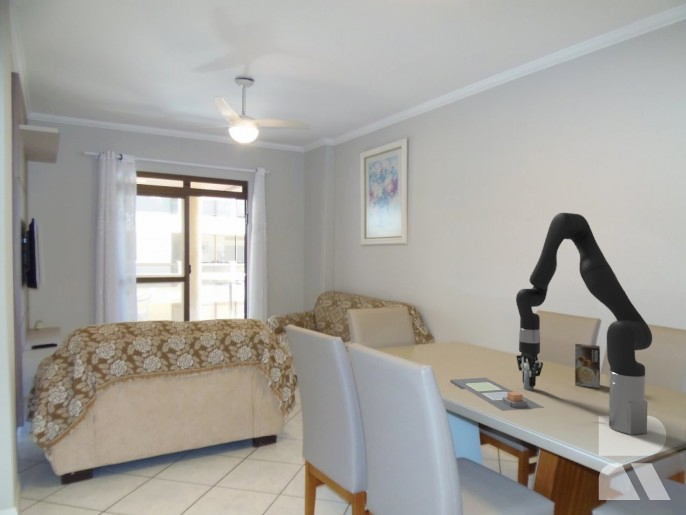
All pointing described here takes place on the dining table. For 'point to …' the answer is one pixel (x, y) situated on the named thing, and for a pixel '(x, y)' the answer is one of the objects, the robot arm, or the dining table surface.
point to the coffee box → (587, 365)
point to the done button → (514, 396)
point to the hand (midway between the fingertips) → (528, 384)
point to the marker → (527, 378)
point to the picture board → (493, 393)
